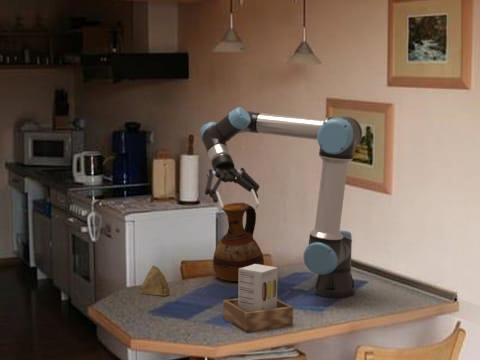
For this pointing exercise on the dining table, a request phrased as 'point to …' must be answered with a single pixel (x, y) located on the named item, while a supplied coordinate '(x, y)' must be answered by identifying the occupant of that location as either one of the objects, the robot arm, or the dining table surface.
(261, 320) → the oak crate
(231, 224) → the ceramic pitcher
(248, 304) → the supplement box
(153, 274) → the rock
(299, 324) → the dining table surface
